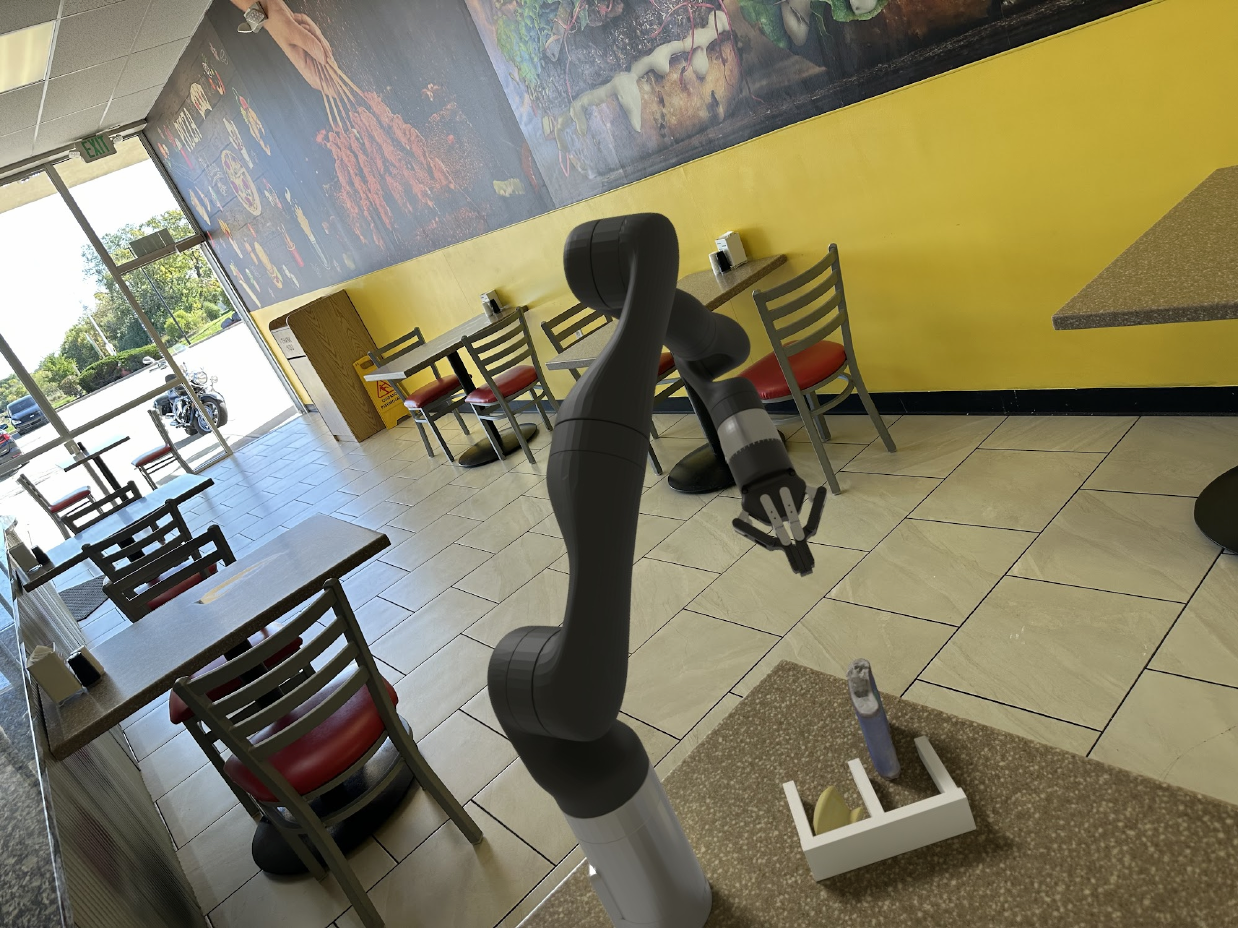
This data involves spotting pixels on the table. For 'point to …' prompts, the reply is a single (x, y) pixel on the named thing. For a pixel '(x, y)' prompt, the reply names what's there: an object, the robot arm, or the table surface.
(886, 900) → the table surface
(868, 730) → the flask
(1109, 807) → the table surface
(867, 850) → the rack
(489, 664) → the robot arm
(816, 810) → the knob
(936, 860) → the table surface
